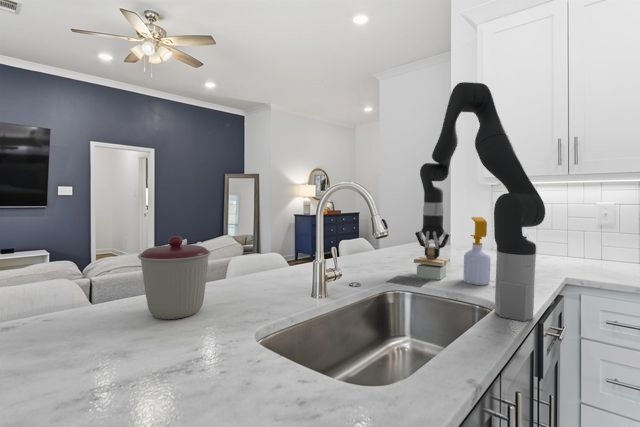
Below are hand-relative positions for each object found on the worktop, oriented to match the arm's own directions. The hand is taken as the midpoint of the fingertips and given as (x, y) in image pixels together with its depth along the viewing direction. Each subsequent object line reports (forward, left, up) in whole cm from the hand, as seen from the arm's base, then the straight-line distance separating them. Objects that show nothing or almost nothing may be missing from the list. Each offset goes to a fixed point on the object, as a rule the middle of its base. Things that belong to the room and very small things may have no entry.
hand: (432, 257), depth 136 cm
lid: (0, 0, -2) cm, 2 cm away
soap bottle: (+2, -16, -8) cm, 18 cm away
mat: (-12, +5, -8) cm, 16 cm away
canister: (-82, +45, -8) cm, 94 cm away
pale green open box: (0, 0, -8) cm, 8 cm away
